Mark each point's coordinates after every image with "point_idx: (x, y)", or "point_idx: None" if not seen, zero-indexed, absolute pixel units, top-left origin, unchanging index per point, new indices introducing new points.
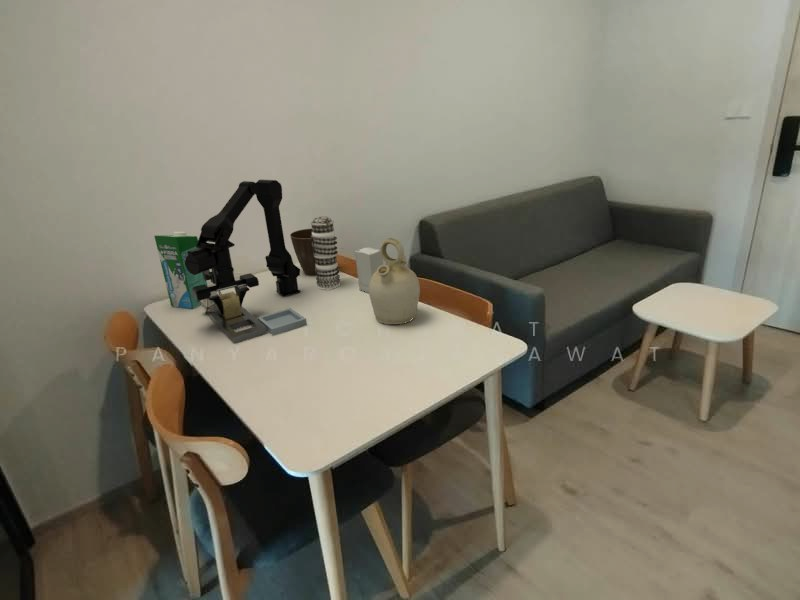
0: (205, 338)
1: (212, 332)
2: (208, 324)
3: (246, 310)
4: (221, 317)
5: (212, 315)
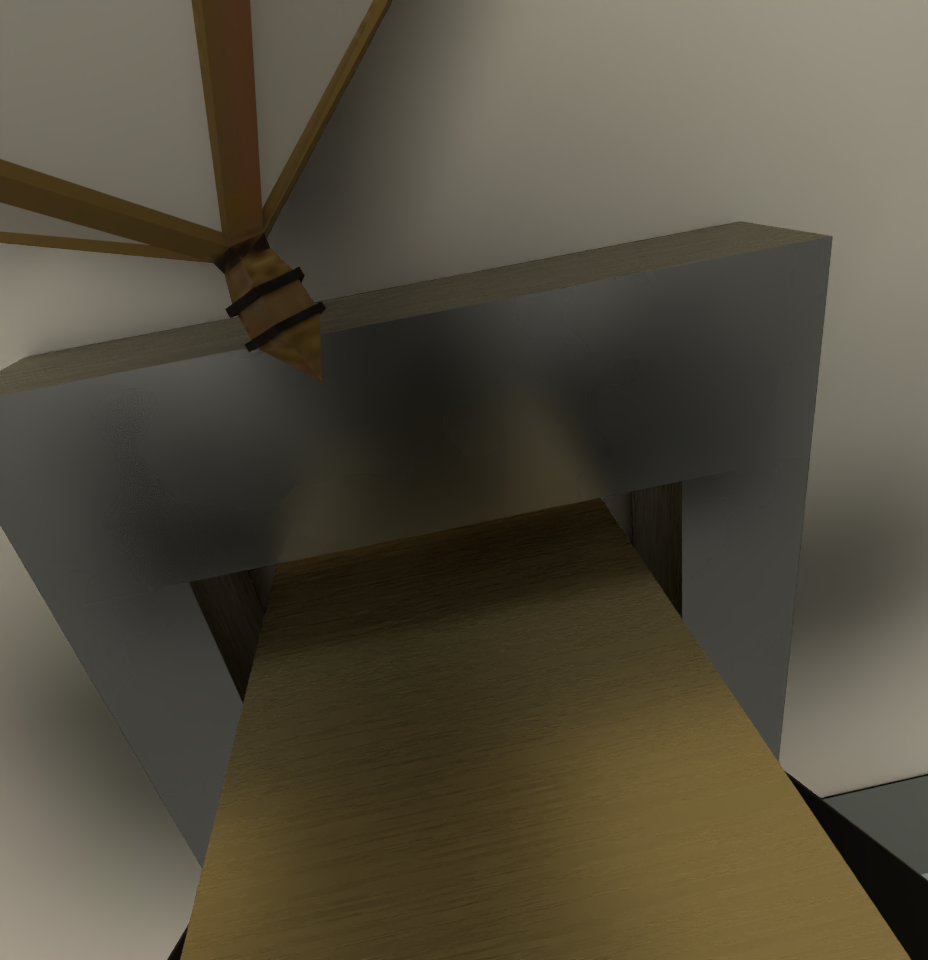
0: (60, 952)
1: (138, 851)
2: (21, 584)
3: (787, 629)
4: (275, 579)
5: (53, 569)
